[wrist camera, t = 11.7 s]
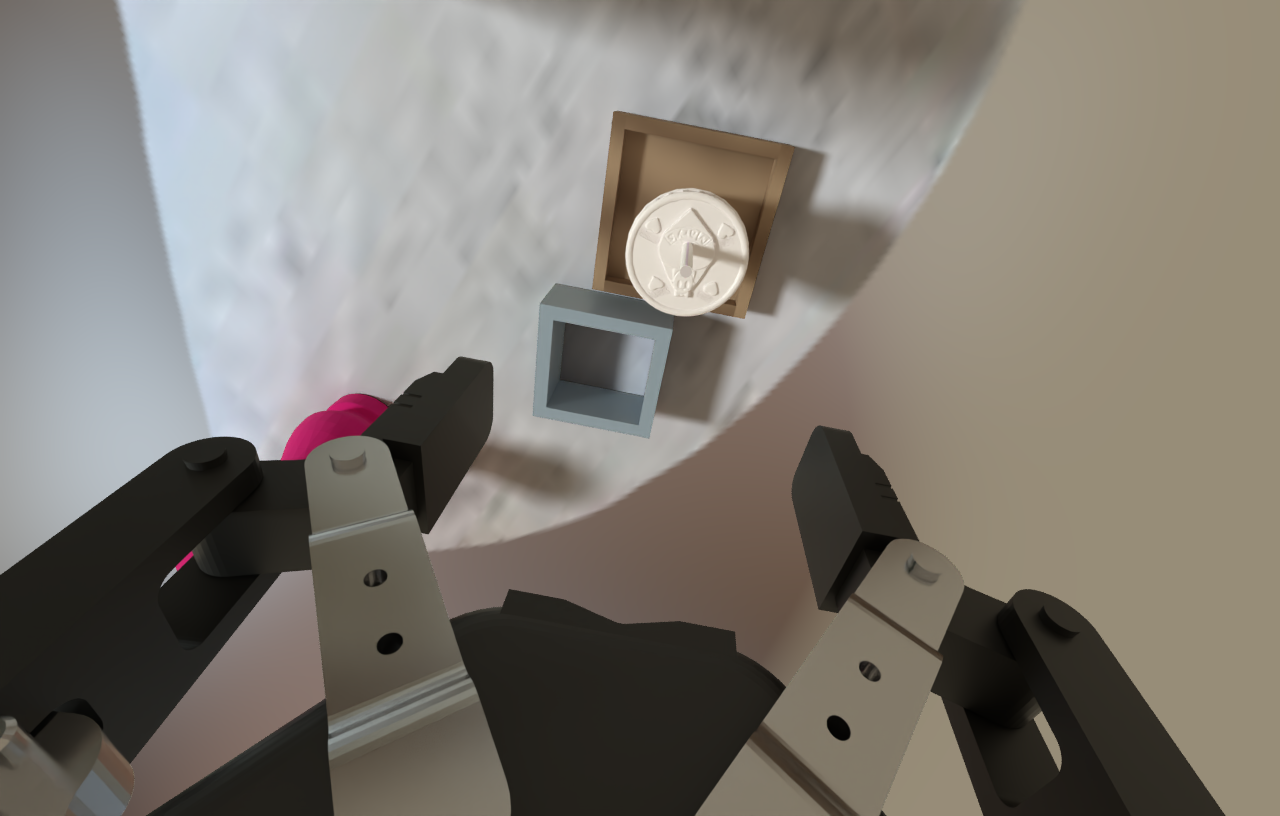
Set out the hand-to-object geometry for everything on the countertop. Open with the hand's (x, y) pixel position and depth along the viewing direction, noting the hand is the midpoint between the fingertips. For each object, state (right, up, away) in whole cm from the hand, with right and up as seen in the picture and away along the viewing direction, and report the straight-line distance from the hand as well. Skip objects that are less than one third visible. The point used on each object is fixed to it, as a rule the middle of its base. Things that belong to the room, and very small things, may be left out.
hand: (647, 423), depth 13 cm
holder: (-3, +5, +28) cm, 29 cm away
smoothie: (+3, +13, +21) cm, 25 cm away
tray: (+3, +14, +22) cm, 26 cm away
